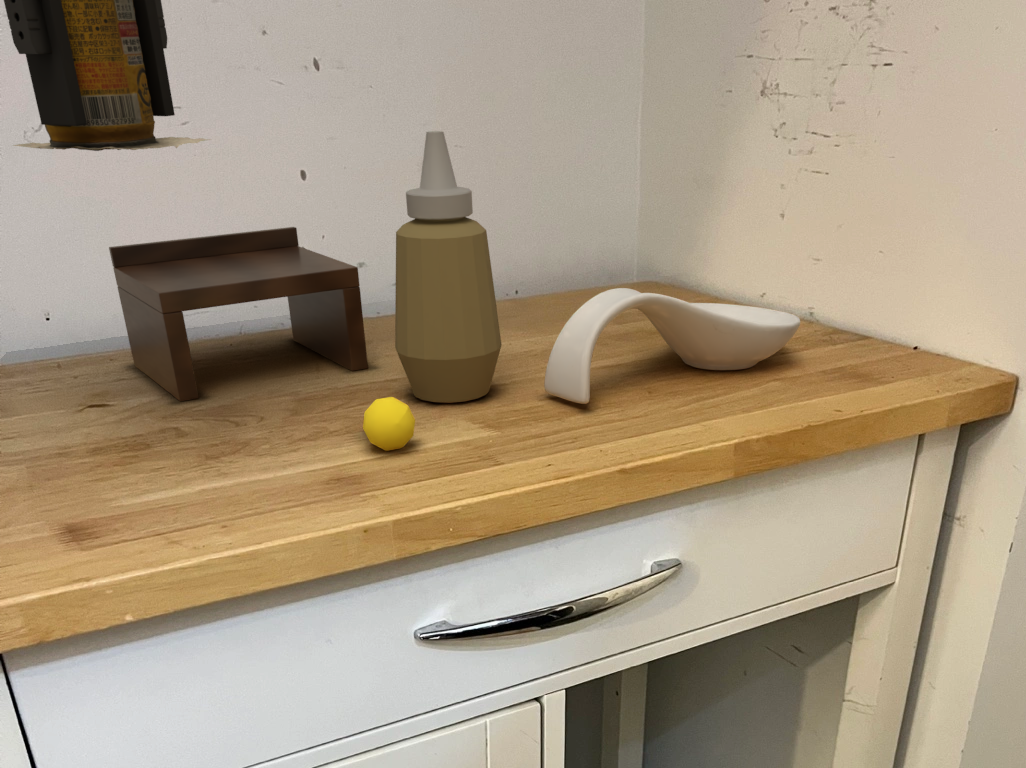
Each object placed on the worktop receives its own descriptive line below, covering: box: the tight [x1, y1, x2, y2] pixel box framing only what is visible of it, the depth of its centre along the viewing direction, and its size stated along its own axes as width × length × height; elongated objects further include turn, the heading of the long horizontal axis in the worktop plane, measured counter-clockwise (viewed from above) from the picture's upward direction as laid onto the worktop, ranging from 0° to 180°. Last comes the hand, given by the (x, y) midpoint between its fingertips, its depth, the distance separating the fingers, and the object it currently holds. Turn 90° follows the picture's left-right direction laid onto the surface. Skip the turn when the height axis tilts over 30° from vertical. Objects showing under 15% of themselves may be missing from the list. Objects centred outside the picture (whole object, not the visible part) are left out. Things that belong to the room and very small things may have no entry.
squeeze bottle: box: [394, 130, 502, 404], centre depth 80 cm, size 8×8×18 cm
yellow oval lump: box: [362, 396, 416, 452], centre depth 74 cm, size 3×6×4 cm, turn 26°
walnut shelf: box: [108, 226, 369, 402], centre depth 90 cm, size 16×13×10 cm
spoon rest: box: [543, 287, 801, 405], centre depth 86 cm, size 24×12×7 cm, turn 130°
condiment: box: [12, 0, 212, 152], centre depth 60 cm, size 7×8×12 cm
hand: (110, 118), depth 63 cm, fingers closed on condiment, 6 cm apart
